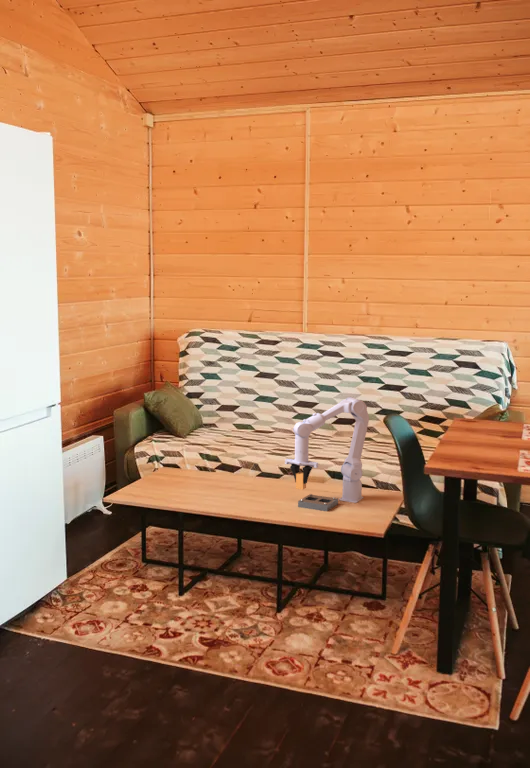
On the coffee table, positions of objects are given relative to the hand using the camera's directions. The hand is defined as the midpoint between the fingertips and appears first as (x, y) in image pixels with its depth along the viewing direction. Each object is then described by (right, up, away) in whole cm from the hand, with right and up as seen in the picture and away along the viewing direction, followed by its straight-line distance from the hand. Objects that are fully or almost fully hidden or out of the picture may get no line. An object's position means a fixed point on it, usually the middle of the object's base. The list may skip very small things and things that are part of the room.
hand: (301, 482), depth 326 cm
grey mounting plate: (+7, -9, -3) cm, 12 cm away
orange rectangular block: (0, -2, 0) cm, 2 cm away
